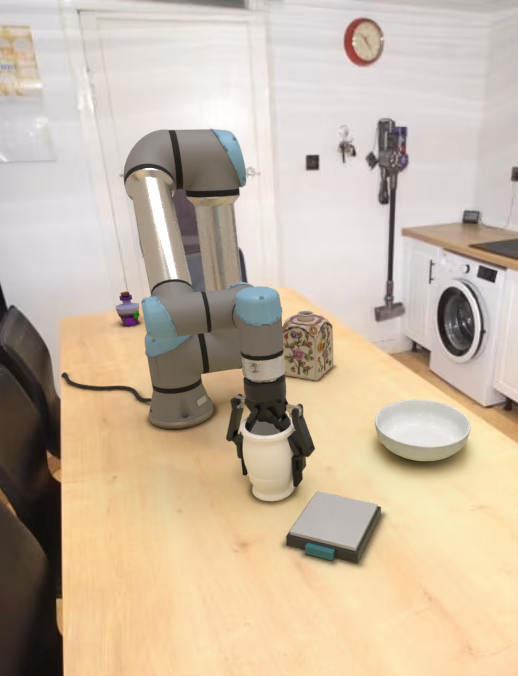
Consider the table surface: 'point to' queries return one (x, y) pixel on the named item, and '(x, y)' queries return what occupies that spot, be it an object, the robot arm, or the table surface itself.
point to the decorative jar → (307, 345)
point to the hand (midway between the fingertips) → (272, 477)
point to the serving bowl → (422, 429)
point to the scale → (334, 527)
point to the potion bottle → (128, 310)
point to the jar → (268, 460)
